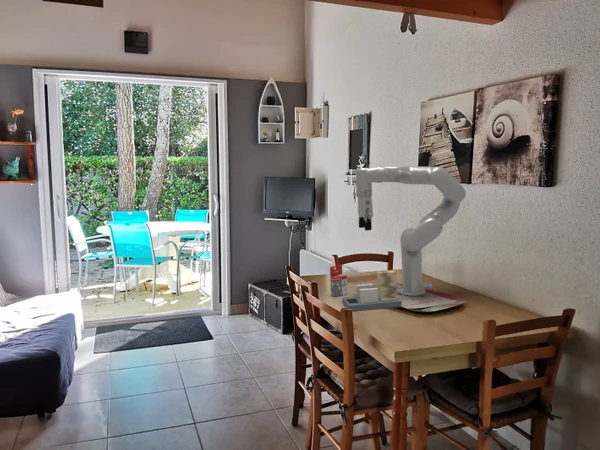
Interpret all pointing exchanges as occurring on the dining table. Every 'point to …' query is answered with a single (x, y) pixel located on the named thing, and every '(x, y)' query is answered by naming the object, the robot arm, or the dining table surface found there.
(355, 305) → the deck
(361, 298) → the pale grey u-shaped piece
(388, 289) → the block
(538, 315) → the dining table surface
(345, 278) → the ink box
